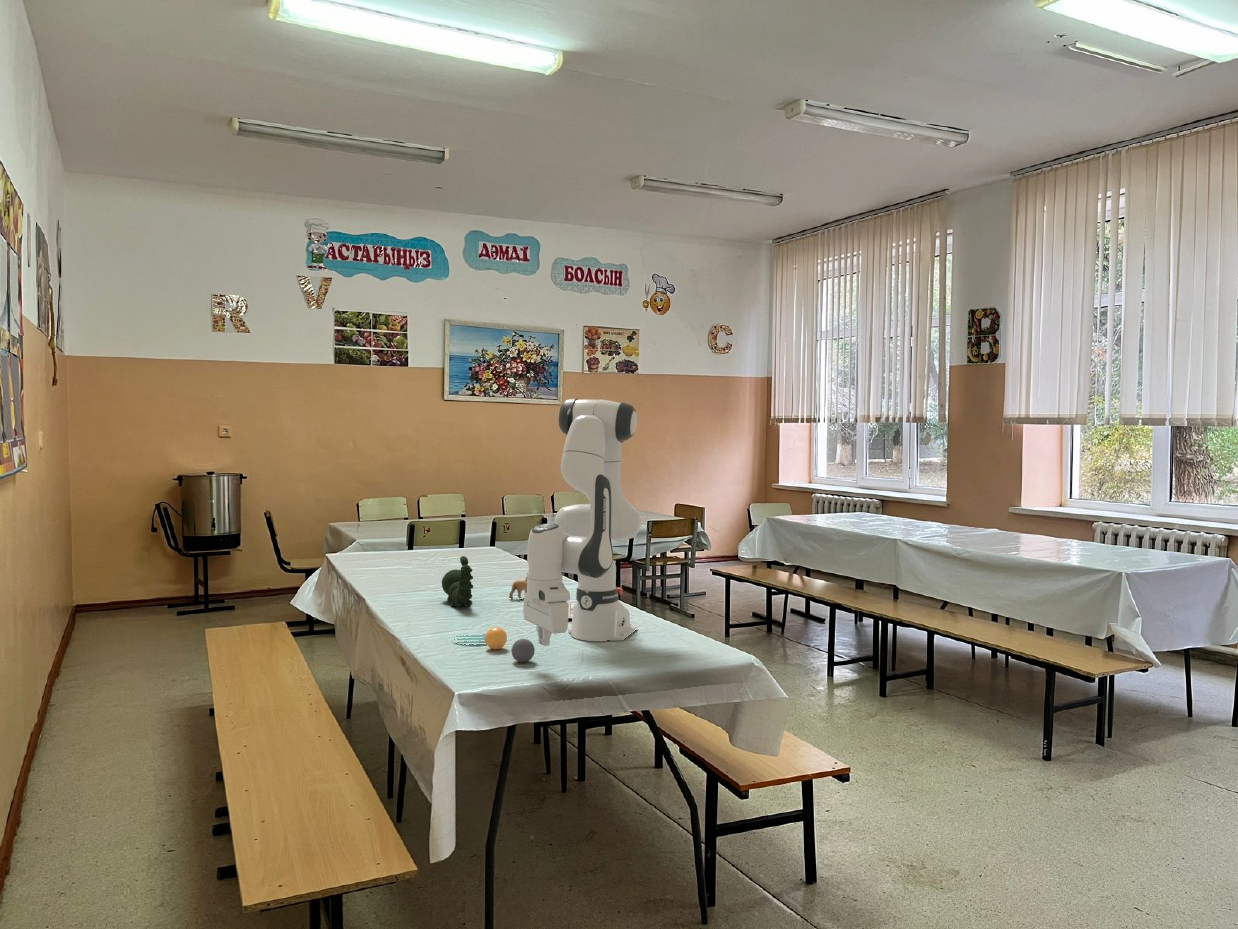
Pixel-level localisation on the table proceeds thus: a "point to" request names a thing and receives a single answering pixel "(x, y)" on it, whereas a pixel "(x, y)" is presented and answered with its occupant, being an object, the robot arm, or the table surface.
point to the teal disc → (473, 639)
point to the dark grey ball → (523, 650)
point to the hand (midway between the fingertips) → (544, 644)
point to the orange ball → (496, 638)
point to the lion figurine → (518, 588)
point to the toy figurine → (459, 585)
